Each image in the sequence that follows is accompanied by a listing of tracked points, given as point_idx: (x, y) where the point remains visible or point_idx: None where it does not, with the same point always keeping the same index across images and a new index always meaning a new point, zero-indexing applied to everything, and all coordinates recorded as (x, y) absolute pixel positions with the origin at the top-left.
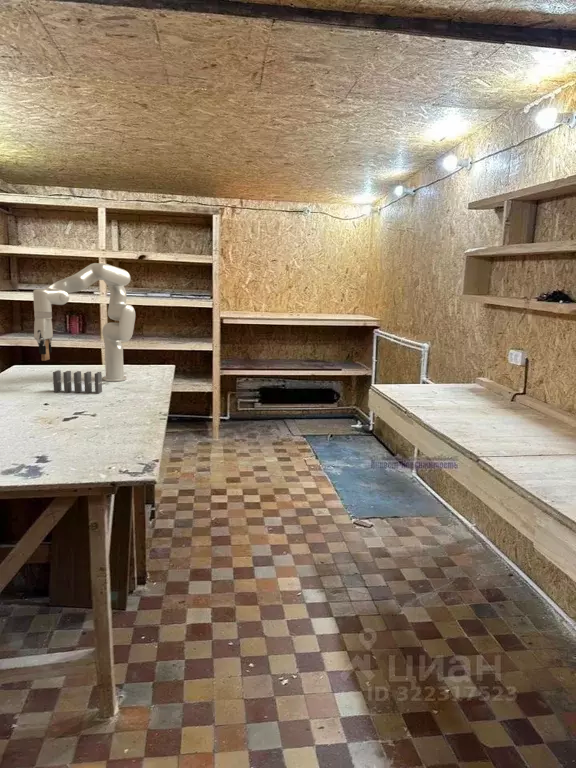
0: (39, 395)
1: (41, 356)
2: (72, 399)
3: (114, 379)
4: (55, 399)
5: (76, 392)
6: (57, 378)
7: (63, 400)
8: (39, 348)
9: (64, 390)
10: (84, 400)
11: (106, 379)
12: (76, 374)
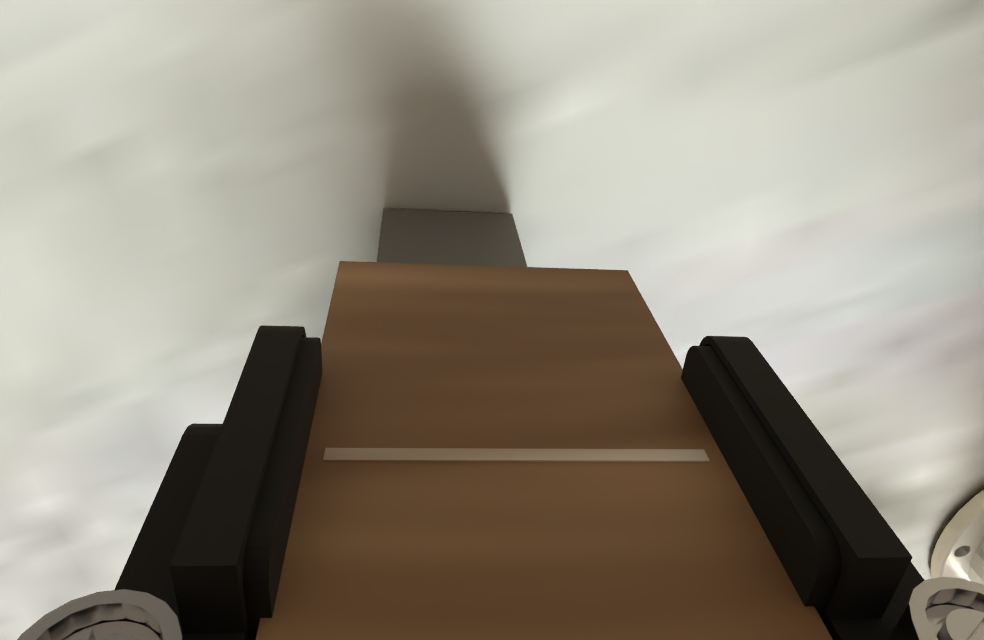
0: (196, 91)
1: (326, 323)
2: (121, 476)
3: (949, 572)
4: (61, 339)
5: None
6: None
7: (49, 421)
8: (213, 487)
9: None
10: (119, 566)
11: (976, 513)
12: None
